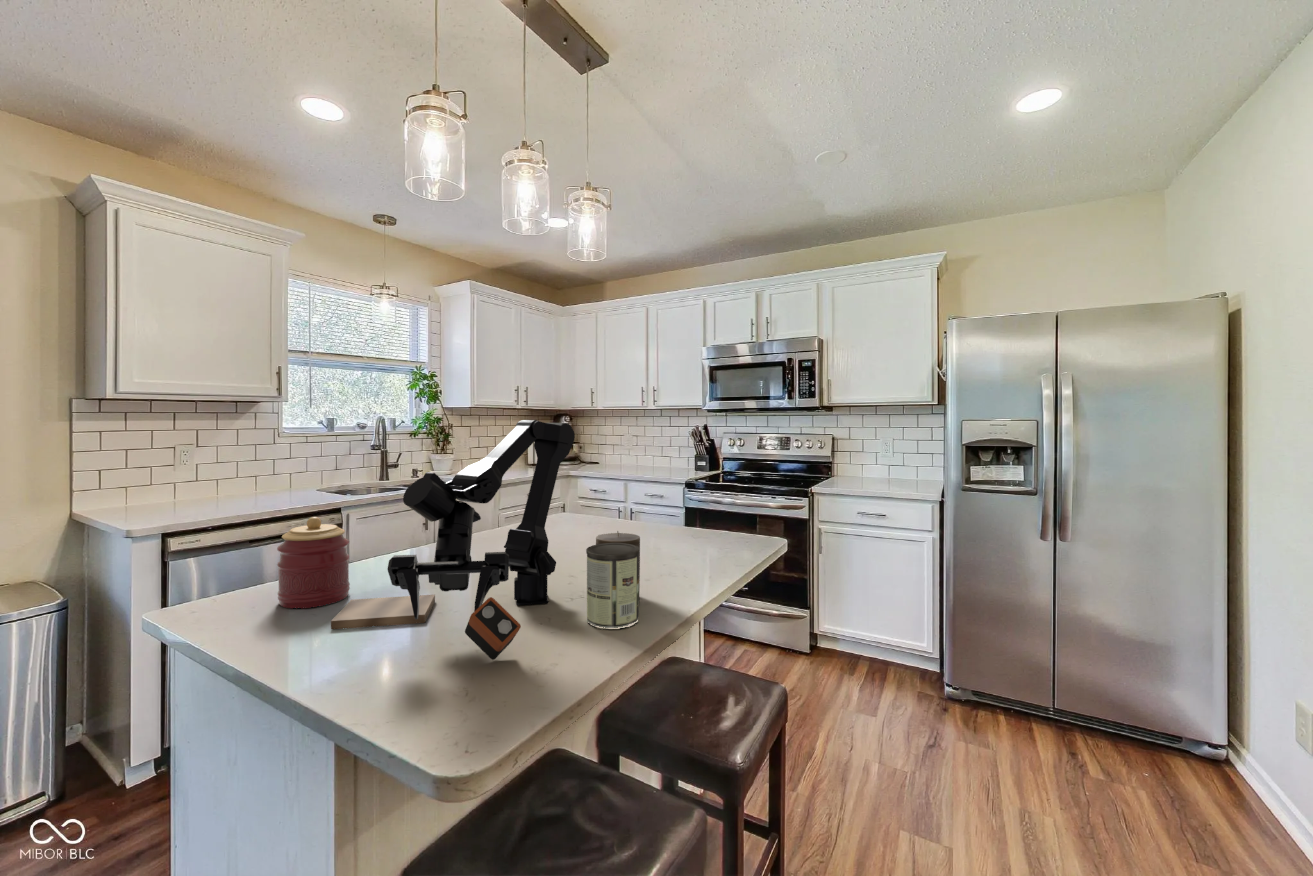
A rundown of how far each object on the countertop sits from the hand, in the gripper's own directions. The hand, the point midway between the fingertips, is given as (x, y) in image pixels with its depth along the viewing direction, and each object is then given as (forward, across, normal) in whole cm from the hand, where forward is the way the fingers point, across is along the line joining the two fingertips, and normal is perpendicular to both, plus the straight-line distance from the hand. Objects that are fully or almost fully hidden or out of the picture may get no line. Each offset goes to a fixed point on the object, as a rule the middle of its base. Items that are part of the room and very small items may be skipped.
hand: (446, 616), depth 86 cm
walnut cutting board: (-12, +14, -23) cm, 30 cm away
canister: (-21, +31, -33) cm, 50 cm away
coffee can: (-4, -29, -14) cm, 32 cm away
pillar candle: (-12, -32, -22) cm, 41 cm away
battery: (+2, -6, -4) cm, 8 cm away
